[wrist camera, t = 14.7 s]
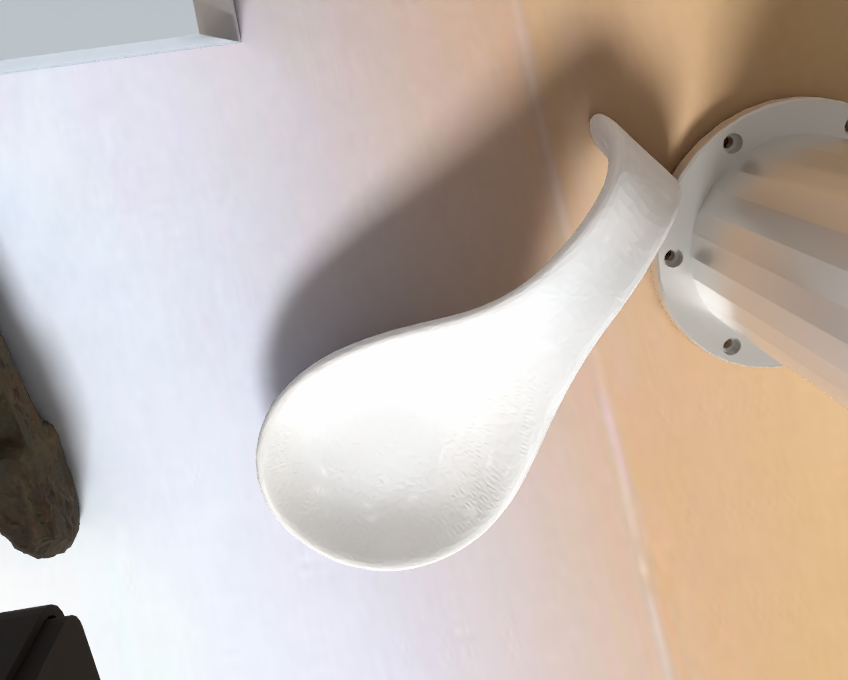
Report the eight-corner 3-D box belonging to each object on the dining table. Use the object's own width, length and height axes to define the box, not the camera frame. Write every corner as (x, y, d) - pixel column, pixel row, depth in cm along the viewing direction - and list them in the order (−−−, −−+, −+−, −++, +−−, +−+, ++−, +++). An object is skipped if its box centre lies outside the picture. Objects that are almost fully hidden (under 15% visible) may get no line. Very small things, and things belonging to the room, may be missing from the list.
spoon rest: (405, 570, 42) (416, 667, 35) (216, 453, 39) (189, 536, 32) (715, 217, 37) (797, 252, 31) (529, 50, 34) (575, 48, 27)
